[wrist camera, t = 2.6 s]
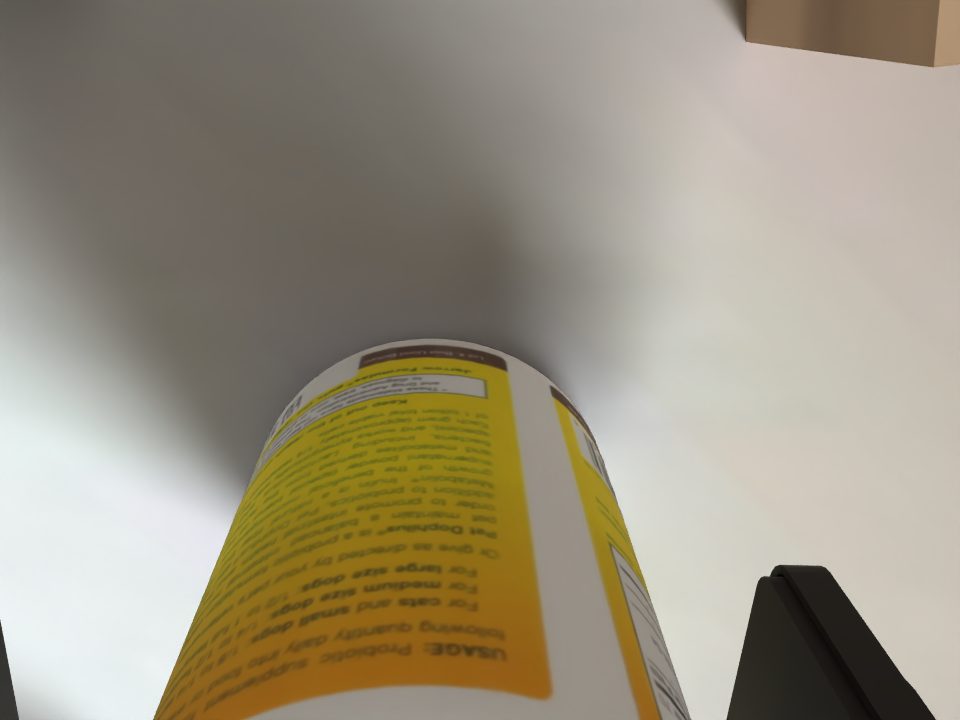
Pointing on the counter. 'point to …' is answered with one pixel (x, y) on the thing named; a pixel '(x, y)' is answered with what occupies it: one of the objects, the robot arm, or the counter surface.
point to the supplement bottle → (427, 559)
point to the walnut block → (861, 28)
